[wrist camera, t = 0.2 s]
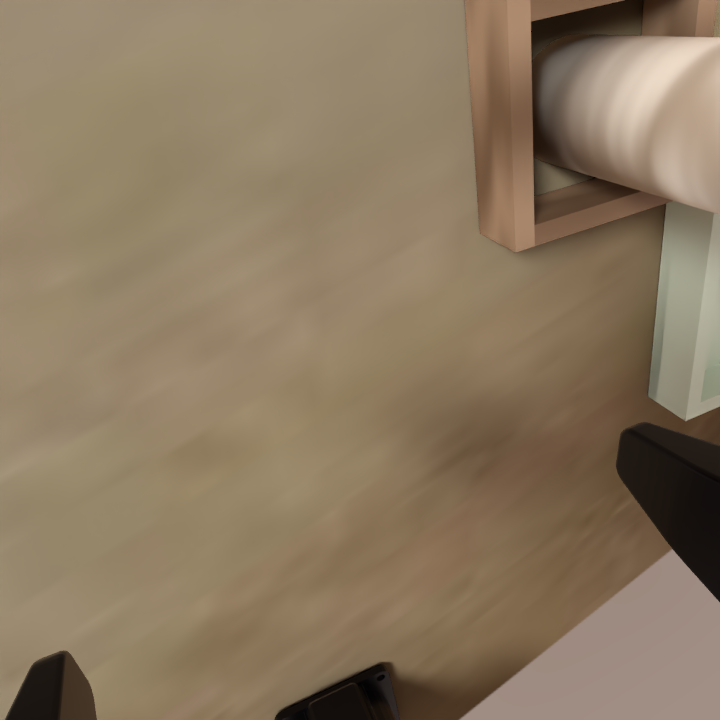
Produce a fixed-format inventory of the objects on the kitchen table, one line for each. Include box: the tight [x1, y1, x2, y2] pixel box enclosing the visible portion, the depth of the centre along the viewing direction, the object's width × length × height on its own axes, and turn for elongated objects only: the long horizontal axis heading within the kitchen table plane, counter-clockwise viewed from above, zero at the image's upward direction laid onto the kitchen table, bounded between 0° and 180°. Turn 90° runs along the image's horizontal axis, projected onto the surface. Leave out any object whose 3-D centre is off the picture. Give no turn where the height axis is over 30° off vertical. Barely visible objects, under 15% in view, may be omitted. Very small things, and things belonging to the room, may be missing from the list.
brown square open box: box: [465, 0, 717, 252], centre depth 23 cm, size 8×8×2 cm
